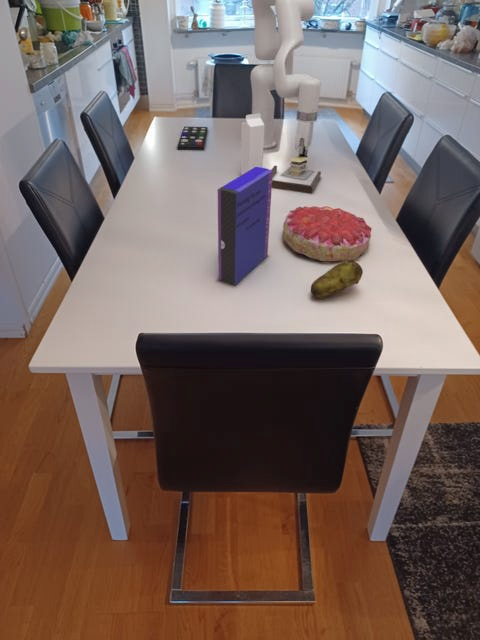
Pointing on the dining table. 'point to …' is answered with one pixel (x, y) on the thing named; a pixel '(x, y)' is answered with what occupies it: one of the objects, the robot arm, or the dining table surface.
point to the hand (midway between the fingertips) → (301, 165)
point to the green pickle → (337, 279)
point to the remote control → (193, 138)
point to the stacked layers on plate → (298, 168)
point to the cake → (326, 233)
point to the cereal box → (243, 224)
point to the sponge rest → (295, 184)
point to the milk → (252, 143)
